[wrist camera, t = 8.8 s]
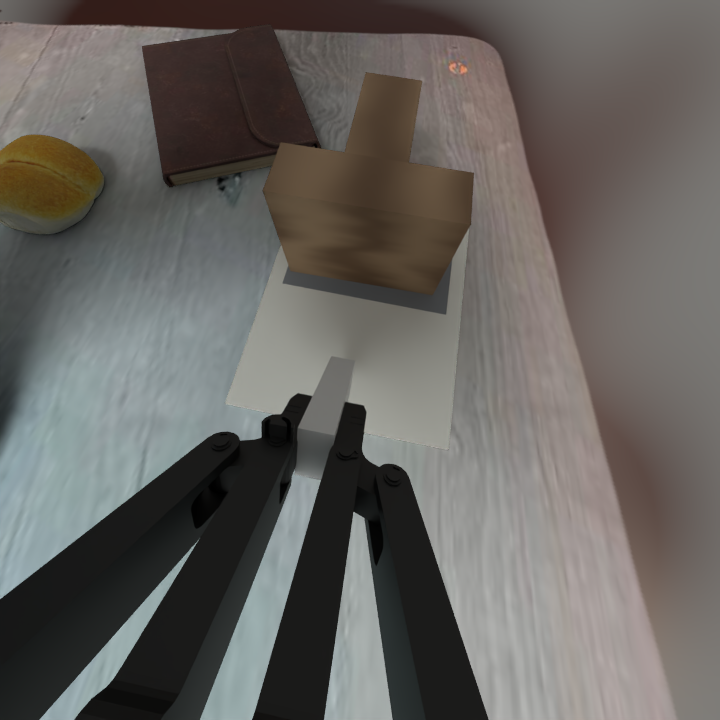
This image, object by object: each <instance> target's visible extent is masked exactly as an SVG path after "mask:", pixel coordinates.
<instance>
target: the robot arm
mask: <svg viewBox="0 0 720 720" xmlns="http://www.w3.org/2000/svg"><path fill="white" fill-rule="evenodd" d="M354 366H355V361H354V360H349V359H344V358H339V357H333V356H331V358H330V360H329V362H328V364H327V366H326V369H325V371H324V373H323V375H322V377H321V379H320V381H319V384H318V386H317V388H316V390H315V392H314V394H313V396H310V395H305V394H300V393H297V394H296V395H294V396H293V397H291V398H290V400H289V402H288V404H287V406H286V407H285V409H284V411H283V412H282V414H275V415H271V416H268V417H266V418H265V419H264V420H263V421H262V438H260V439H256V440H245V441H240V440H239V437H238V436H237V435H236V434H234V433H231V432H220V433H216V434H213V435H212V436H210V437H208V438H207V439H206V440H204V441H203V442H202V443H200V444H199V445H198V446H197V447H195V448H194V449H193V450H191V451H190V452H189V453H188V454H186V455H185V456H184V457H182V458H181V459H180V460H179V461H177V462H176V463H175V464H173V465H172V466H171V467H170V468H168V469H167V470H166V471H164V472H163V473H162V474H161V475H159V476H158V477H157V478H155V479H154V480H153V481H152V482H150V483H149V484H148V485H146V486H145V487H144V488H143V489H141V490H140V491H139V492H137V493H136V494H135V495H134V496H132V497H131V498H130V499H128V500H127V501H126V502H125V503H123V504H122V505H121V506H119V507H118V508H117V509H116V510H114V511H113V512H112V513H110V514H109V515H108V516H107V517H105V518H104V519H103V520H101V521H100V522H99V523H98V524H96V525H95V526H94V527H92V528H91V529H90V530H89V531H87V532H86V533H85V534H84V535H82V536H81V537H80V538H78V539H77V540H76V541H75V542H73V543H72V544H71V545H69V546H68V547H67V548H66V549H64V550H63V551H62V552H60V553H59V554H58V555H57V556H55V557H54V558H53V559H51V560H50V561H49V562H48V563H46V564H45V565H44V566H42V567H41V568H40V569H39V570H37V571H36V572H35V573H33V574H32V575H31V576H30V577H28V578H27V579H26V580H24V581H23V582H22V583H21V584H19V585H18V586H17V587H15V588H14V589H13V590H12V591H10V592H9V593H8V594H6V595H5V596H4V597H3V598H1V599H0V720H39V719H40V718H41V717H42V716H43V715H44V714H45V713H46V711H47V710H48V709H49V708H50V707H51V706H52V705H53V703H54V702H55V701H56V700H57V699H58V698H59V697H60V696H61V694H62V693H63V692H64V691H65V690H66V689H67V688H68V687H69V685H70V684H71V683H72V682H73V681H74V680H75V679H76V677H77V676H78V675H79V674H80V673H81V672H82V671H83V670H84V668H85V667H86V666H87V665H88V664H89V663H90V662H91V661H92V659H93V658H94V657H95V656H96V655H97V654H98V653H99V651H100V650H101V649H102V648H103V647H104V646H105V645H106V644H107V642H108V641H109V640H110V639H111V638H112V637H113V636H114V635H115V633H116V632H117V631H118V630H119V629H120V628H121V627H122V625H123V624H124V623H125V622H126V621H127V620H128V619H129V618H130V616H131V615H132V614H133V613H134V612H135V611H136V610H137V609H138V607H139V606H140V605H141V604H142V603H143V602H144V601H145V599H146V598H147V597H148V596H149V595H150V594H151V593H152V592H153V590H154V589H155V588H156V587H157V586H158V585H159V584H160V583H161V581H162V580H163V579H164V578H165V577H166V576H167V575H168V573H169V572H170V571H171V570H172V569H173V568H174V567H175V566H176V564H177V563H178V562H179V561H180V560H181V559H182V558H183V557H184V555H185V554H186V553H187V552H188V551H189V550H190V549H191V547H192V546H193V545H194V544H195V543H196V542H197V541H198V540H199V541H198V542H197V544H196V546H195V547H194V549H193V551H192V552H191V554H190V555H189V557H188V559H187V560H186V562H185V564H184V565H183V567H182V569H181V570H180V572H179V574H178V575H177V577H176V578H175V580H174V582H173V583H172V585H171V587H170V588H169V590H168V592H167V593H166V595H165V596H164V598H163V600H162V601H161V603H160V605H159V606H158V608H157V610H156V611H155V613H154V614H153V616H152V618H151V619H150V621H149V623H148V624H147V626H146V628H145V629H144V631H143V632H142V634H141V636H140V637H139V639H138V641H137V642H136V644H135V646H134V647H133V649H132V650H131V652H130V654H129V655H128V657H127V659H126V660H125V662H124V664H123V665H122V667H121V668H120V670H119V672H118V673H117V674H116V676H115V677H114V679H113V680H112V681H111V683H110V684H109V685H108V686H107V687H106V688H105V689H103V690H102V691H101V692H100V693H98V694H97V695H96V696H95V697H93V698H92V699H91V700H90V701H89V702H88V704H87V705H86V706H85V707H84V708H83V709H82V710H81V712H80V713H79V714H78V716H77V717H76V718H75V720H200V718H201V715H202V712H203V710H204V707H205V705H206V702H207V700H208V697H209V694H210V692H211V689H212V687H213V684H214V682H215V679H216V676H217V674H218V671H219V669H220V666H221V664H222V661H223V658H224V656H225V653H226V651H227V648H228V646H229V643H230V640H231V638H232V635H233V633H234V630H235V628H236V625H237V622H238V620H239V617H240V615H241V612H242V609H243V607H244V604H245V602H246V599H247V597H248V594H249V591H250V589H251V586H252V584H253V581H254V579H255V576H256V573H257V571H258V568H259V566H260V563H261V561H262V558H263V555H264V553H265V550H266V548H267V545H268V543H269V540H270V537H271V535H272V532H273V530H274V527H275V525H276V522H277V519H278V517H279V514H280V512H281V509H282V507H283V504H284V501H285V499H286V496H287V494H288V491H289V489H290V486H291V478H292V474H293V472H294V469H295V475H299V476H304V477H309V478H314V479H319V480H321V482H320V486H319V489H318V493H317V496H316V500H315V503H314V507H313V510H312V514H311V517H310V521H309V524H308V528H307V531H306V535H305V538H304V542H303V545H302V549H301V552H300V556H299V559H298V563H297V566H296V570H295V573H294V577H293V580H292V584H291V587H290V591H289V595H288V598H287V602H286V605H285V609H284V612H283V616H282V619H281V623H280V626H279V630H278V633H277V637H276V640H275V644H274V647H273V651H272V654H271V658H270V661H269V665H268V668H267V672H266V675H265V679H264V682H263V686H262V689H261V693H260V696H259V700H258V703H257V706H256V710H255V713H254V716H253V719H252V720H324V715H325V708H326V701H327V694H328V687H329V680H330V673H331V666H332V659H333V652H334V644H335V637H336V630H337V623H338V616H339V609H340V602H341V595H342V588H343V581H344V574H345V567H346V560H347V553H348V546H349V539H350V532H351V525H352V518H353V512H355V513H357V514H359V515H360V516H362V517H364V518H365V525H366V533H367V540H368V547H369V554H370V561H371V568H372V575H373V582H374V589H375V597H376V604H377V611H378V618H379V625H380V632H381V639H382V646H383V653H384V661H385V668H386V675H387V682H388V689H389V696H390V703H391V710H392V718H393V720H488V717H487V714H486V710H485V707H484V704H483V701H482V698H481V695H480V692H479V689H478V686H477V683H476V680H475V677H474V674H473V671H472V668H471V665H470V662H469V659H468V656H467V653H466V650H465V647H464V643H463V640H462V637H461V634H460V631H459V628H458V625H457V622H456V619H455V616H454V613H453V610H452V607H451V604H450V601H449V598H448V595H447V592H446V589H445V586H444V583H443V580H442V576H441V573H440V570H439V567H438V564H437V561H436V558H435V555H434V552H433V549H432V546H431V543H430V540H429V537H428V534H427V531H426V528H425V525H424V522H423V519H422V516H421V513H420V509H419V506H418V503H417V500H416V497H415V494H414V491H413V488H412V485H411V482H410V479H409V477H408V475H407V473H406V472H405V471H404V470H403V469H402V468H401V467H399V466H397V465H394V464H384V465H382V466H380V467H378V466H376V465H374V464H372V463H371V462H369V461H368V460H367V459H366V458H365V456H364V455H363V452H362V442H363V435H364V428H365V421H366V414H367V412H366V409H365V407H364V405H359V404H354V403H349V402H348V400H349V395H350V389H351V383H352V377H353V371H354ZM199 538H200V539H199Z"/></svg>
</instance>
